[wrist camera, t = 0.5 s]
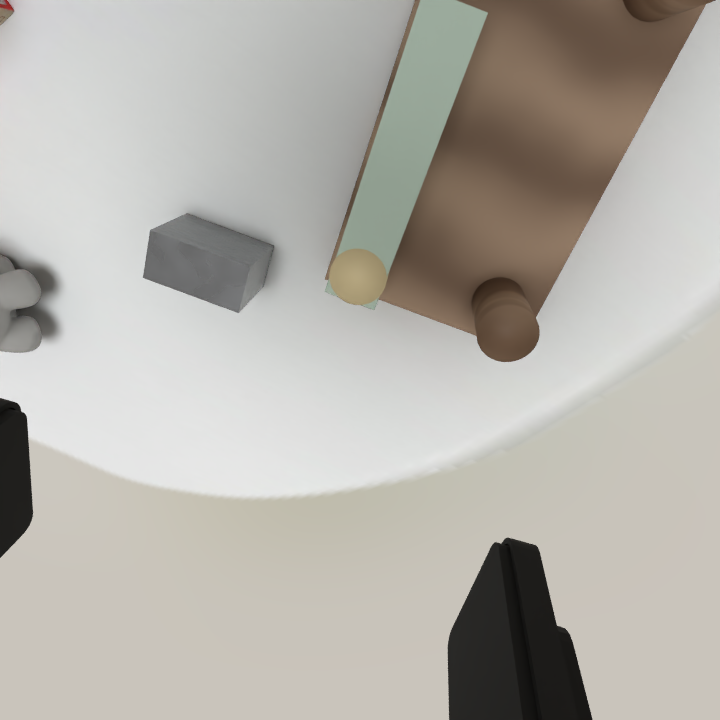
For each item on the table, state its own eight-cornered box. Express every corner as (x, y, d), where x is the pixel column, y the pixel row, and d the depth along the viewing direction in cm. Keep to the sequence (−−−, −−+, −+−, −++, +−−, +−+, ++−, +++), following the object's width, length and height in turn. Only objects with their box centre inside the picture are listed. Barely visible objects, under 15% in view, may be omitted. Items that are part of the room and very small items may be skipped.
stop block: (187, 213, 35) (150, 230, 30) (273, 245, 35) (250, 267, 30) (179, 255, 36) (143, 277, 32) (263, 286, 36) (238, 312, 32)
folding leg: (380, 294, 33) (375, 312, 30) (332, 276, 33) (322, 293, 30) (484, 22, 26) (490, 13, 23) (423, -2, 26) (422, -14, 23)
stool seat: (468, -153, 25) (479, -237, 19) (720, -51, 26) (813, -101, 19) (330, 270, 35) (307, 306, 29) (513, 338, 35) (529, 389, 29)
